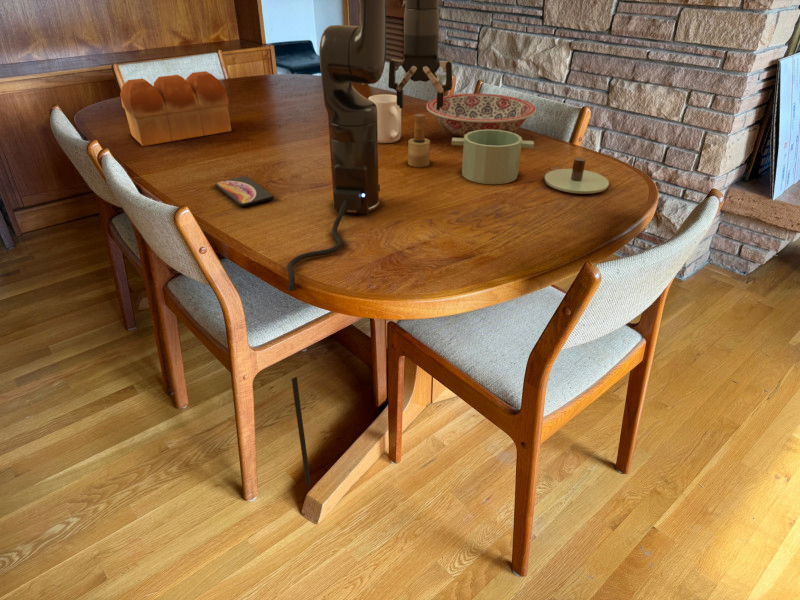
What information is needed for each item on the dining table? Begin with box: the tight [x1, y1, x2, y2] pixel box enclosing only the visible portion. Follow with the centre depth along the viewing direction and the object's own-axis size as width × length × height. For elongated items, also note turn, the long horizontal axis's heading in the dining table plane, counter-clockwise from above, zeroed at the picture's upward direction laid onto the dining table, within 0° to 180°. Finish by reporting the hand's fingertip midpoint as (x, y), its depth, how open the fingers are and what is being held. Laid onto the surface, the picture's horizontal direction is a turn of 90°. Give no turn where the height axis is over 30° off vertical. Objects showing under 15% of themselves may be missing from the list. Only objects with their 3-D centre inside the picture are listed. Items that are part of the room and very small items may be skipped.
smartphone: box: [215, 175, 274, 208], centre depth 121 cm, size 8×1×15 cm
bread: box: [119, 71, 232, 147], centre depth 154 cm, size 25×12×15 cm, turn 125°
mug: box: [367, 94, 402, 144], centre depth 150 cm, size 9×12×11 cm
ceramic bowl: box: [426, 93, 537, 138], centre depth 155 cm, size 29×29×8 cm
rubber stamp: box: [407, 113, 431, 168], centre depth 134 cm, size 5×5×12 cm
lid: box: [543, 156, 610, 195], centre depth 125 cm, size 14×14×6 cm
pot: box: [451, 129, 535, 185], centre depth 129 cm, size 13×18×8 cm
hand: (419, 108), depth 131 cm, fingers open, 8 cm apart
